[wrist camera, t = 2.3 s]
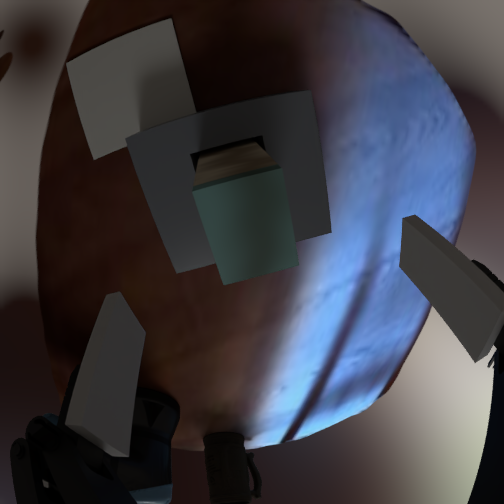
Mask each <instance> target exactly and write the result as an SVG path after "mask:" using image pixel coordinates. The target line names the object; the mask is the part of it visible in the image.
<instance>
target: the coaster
mask: <svg viewBox="0 0 504 504" xmlns="http://www.w3.org/2000/svg"><path fill="white" fill-rule="evenodd" d="M66 65H67V70H68V74H69V78H70V83H71V86H72V90H73V94H74V98H75V102H76V105H77V109H78V112H79V116H80V119H81V122H82V126H83V129H84V132H85V135H86V138H87V141H88V144H89V147H90V150H91V153H92V156H93V159H94V160H95V159H97V158H99V157H102V156H104V155H106V154H109V153H111V152H113V151H116V150H118V149H121V148H123V147H126V146H127V143H126V140H125V138H127V137H129V136H131V135H133V134H135V133H137V132H139V131H142V130H145V129H147V128H150V127H153V126H156V125H159V124H161V123H164V122H167V121H170V120H173V119H177V118H180V117H183V116H186V115H190V114H193V113H196V109H195V105H194V101H193V98H192V94H191V90H190V87H189V83H188V79H187V76H186V72H185V68H184V64H183V61H182V57H181V53H180V49H179V45H178V42H177V38H176V34H175V30H174V26H173V22H172V19H171V18H170V19H167V20H164V21H161V22H158V23H155V24H152V25H149V26H146V27H144V28H141V29H138V30H136V31H133V32H131V33H128V34H126V35H123V36H121V37H118V38H116V39H114V40H112V41H109V42H107V43H105V44H103V45H101V46H99V47H97V48H94V49H92V50H90V51H88V52H87V53H85V54H83V55H81V56H79V57H77V58H75V59H73V60H72V61H70V62H68V63H66Z"/></svg>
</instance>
